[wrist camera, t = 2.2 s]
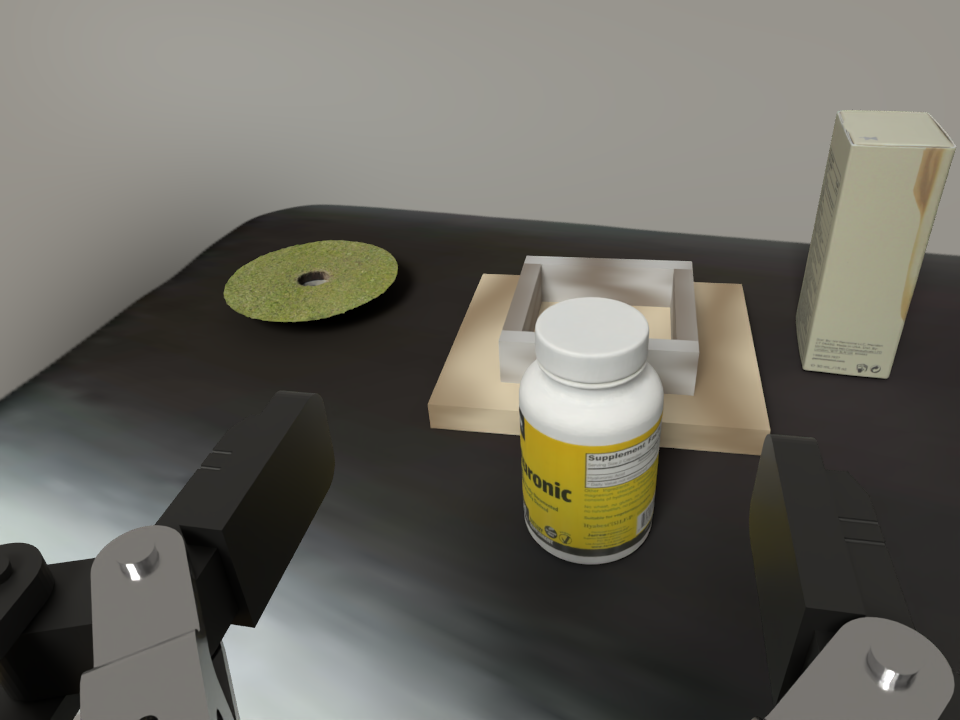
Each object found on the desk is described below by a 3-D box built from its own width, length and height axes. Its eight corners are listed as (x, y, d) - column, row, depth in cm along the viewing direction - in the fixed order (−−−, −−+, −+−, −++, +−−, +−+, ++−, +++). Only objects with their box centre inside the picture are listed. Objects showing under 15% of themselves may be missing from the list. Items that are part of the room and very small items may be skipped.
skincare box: (890, 383, 38) (963, 149, 31) (799, 373, 39) (850, 145, 32) (873, 320, 43) (932, 107, 36) (793, 313, 44) (836, 105, 37)
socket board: (738, 305, 45) (747, 246, 43) (765, 455, 34) (779, 385, 31) (484, 294, 48) (480, 238, 46) (430, 427, 37) (422, 362, 35)
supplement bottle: (506, 493, 33) (495, 302, 27) (616, 464, 34) (628, 275, 28) (550, 586, 28) (549, 380, 23) (675, 549, 29) (702, 345, 24)
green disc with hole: (389, 344, 44) (385, 316, 43) (206, 350, 44) (197, 323, 43) (410, 260, 53) (407, 236, 52) (258, 267, 54) (252, 242, 53)
